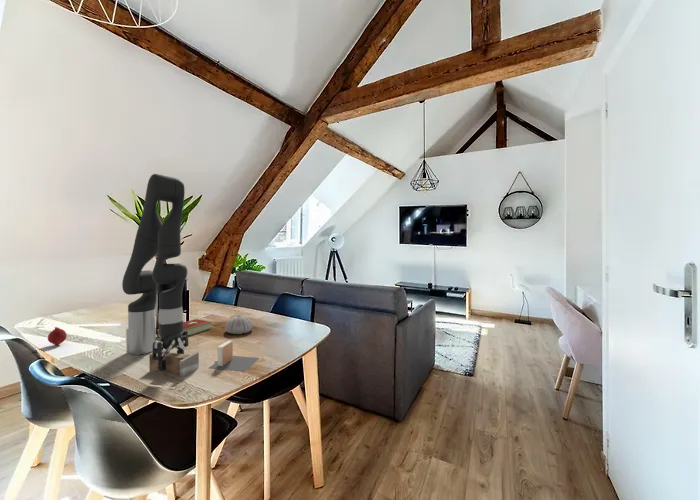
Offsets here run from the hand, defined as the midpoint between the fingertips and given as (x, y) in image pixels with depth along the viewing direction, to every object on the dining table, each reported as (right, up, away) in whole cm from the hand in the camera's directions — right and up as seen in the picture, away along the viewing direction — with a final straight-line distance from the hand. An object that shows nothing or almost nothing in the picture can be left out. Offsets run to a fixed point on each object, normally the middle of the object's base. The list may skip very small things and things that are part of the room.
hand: (171, 365), depth 106 cm
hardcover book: (-18, -1, +43) cm, 46 cm away
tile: (+16, -2, +7) cm, 18 cm away
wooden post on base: (0, -2, 0) cm, 2 cm away
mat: (+20, -2, +7) cm, 21 cm away
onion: (-63, 0, +23) cm, 67 cm away
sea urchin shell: (+7, -1, +45) cm, 46 cm away
